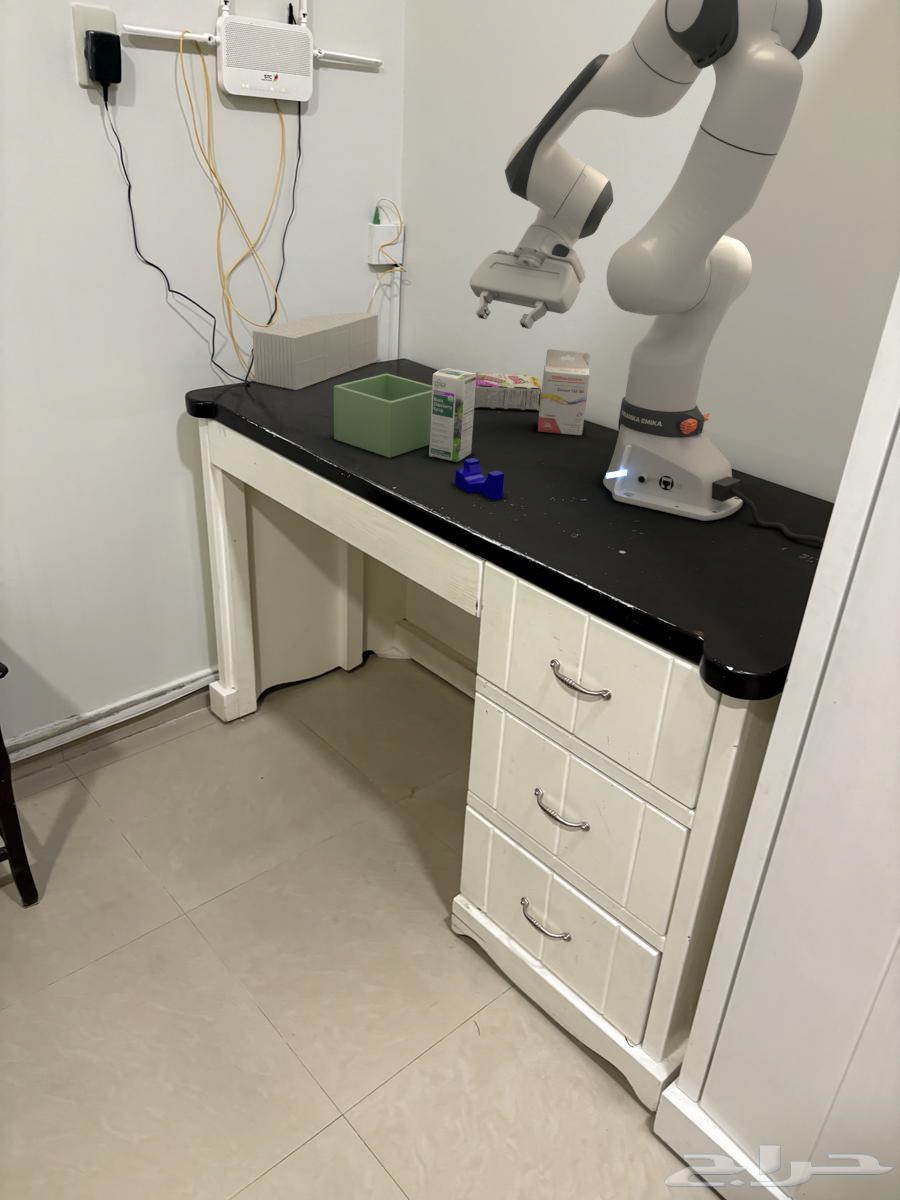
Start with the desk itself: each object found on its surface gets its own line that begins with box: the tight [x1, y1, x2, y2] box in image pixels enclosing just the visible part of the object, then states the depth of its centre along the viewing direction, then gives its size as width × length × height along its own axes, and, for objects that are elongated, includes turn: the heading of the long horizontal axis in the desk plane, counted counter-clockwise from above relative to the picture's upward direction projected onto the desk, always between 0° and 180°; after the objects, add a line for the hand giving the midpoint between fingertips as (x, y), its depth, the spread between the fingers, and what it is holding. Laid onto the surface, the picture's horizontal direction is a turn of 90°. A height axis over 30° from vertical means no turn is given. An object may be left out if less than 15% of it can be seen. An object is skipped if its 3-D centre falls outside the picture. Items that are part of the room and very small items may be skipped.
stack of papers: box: [251, 311, 379, 391], centre depth 206 cm, size 32×11×11 cm
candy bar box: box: [469, 371, 542, 412], centre depth 192 cm, size 11×5×16 cm
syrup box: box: [428, 367, 477, 463], centre depth 159 cm, size 6×6×14 cm
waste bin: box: [333, 373, 432, 459], centre depth 165 cm, size 14×14×10 cm
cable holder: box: [454, 457, 505, 501], centre depth 146 cm, size 8×4×4 cm, turn 34°
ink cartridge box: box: [537, 348, 591, 436], centre depth 175 cm, size 9×5×15 cm, turn 84°
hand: (502, 321), depth 161 cm, fingers open, 8 cm apart
